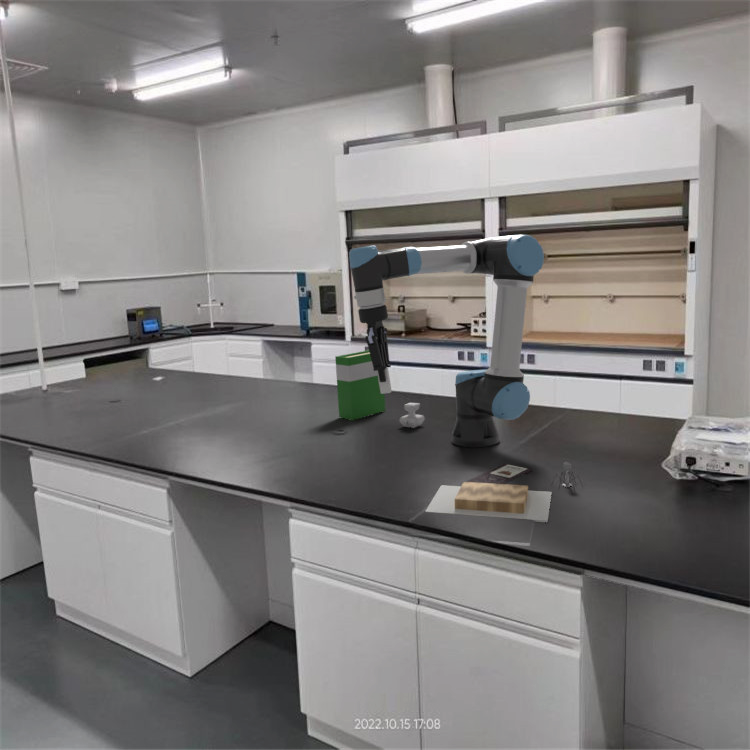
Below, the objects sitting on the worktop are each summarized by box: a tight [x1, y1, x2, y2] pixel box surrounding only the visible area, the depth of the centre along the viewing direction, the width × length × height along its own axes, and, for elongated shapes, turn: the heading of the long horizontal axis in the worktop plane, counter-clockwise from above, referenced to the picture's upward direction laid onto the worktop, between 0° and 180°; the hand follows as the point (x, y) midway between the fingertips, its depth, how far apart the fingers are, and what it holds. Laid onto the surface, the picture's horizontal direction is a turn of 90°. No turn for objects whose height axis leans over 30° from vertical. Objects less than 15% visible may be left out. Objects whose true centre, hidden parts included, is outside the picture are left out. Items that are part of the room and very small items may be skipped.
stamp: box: [398, 402, 426, 429], centre depth 230 cm, size 9×7×8 cm
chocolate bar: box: [466, 463, 533, 484], centre depth 175 cm, size 9×1×18 cm
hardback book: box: [335, 349, 386, 421], centre depth 250 cm, size 18×7×24 cm, turn 134°
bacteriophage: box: [551, 461, 584, 492], centre depth 165 cm, size 7×8×7 cm
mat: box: [424, 484, 553, 523], centre depth 157 cm, size 18×28×1 cm, turn 72°
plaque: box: [455, 481, 529, 514], centre depth 156 cm, size 12×2×16 cm
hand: (386, 392), depth 174 cm, fingers closed
